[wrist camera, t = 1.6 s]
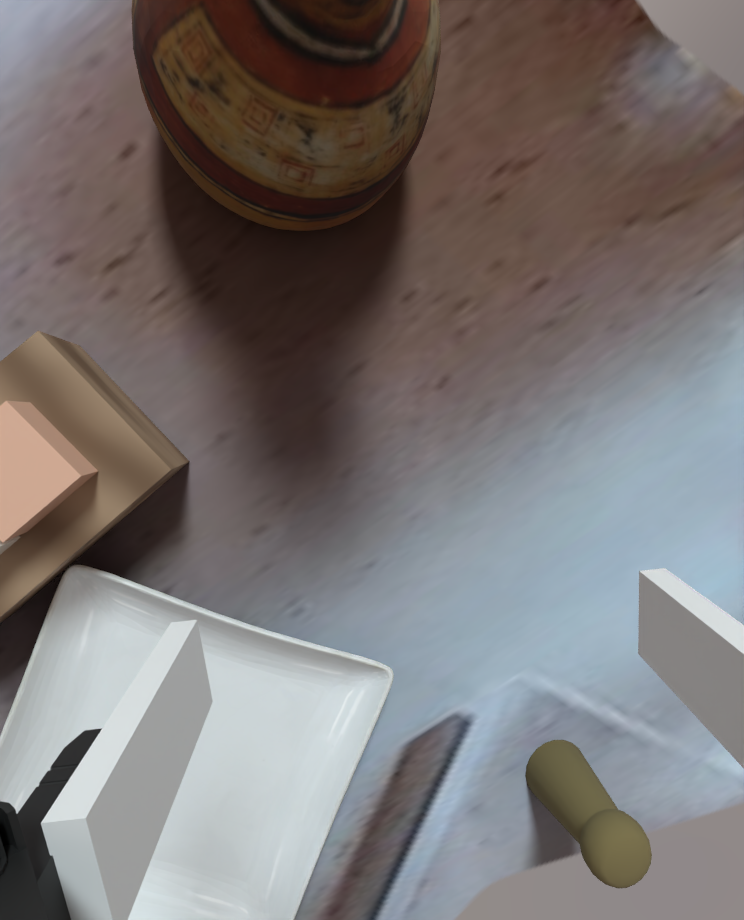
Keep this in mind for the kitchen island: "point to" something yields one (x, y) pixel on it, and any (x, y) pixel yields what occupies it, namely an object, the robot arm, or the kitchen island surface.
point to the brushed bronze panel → (98, 439)
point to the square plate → (205, 742)
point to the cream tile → (7, 544)
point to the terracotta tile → (34, 468)
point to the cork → (589, 814)
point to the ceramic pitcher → (289, 99)
